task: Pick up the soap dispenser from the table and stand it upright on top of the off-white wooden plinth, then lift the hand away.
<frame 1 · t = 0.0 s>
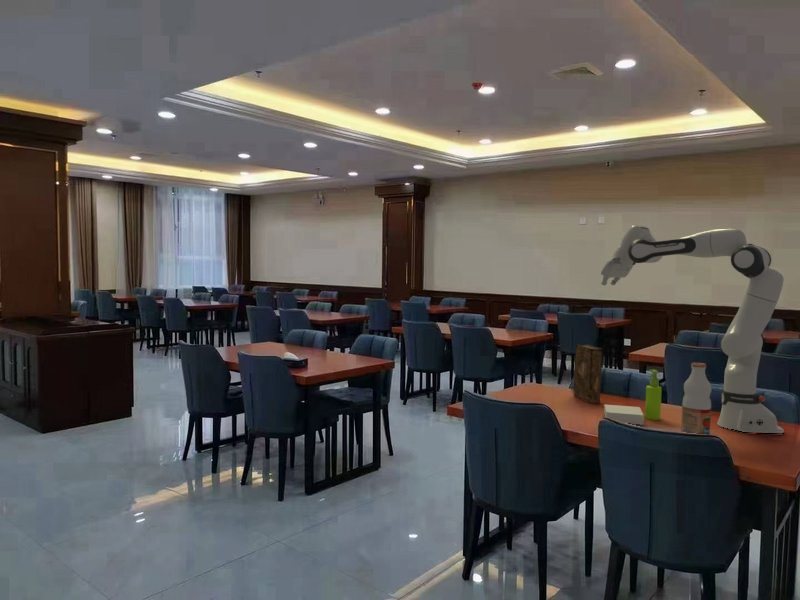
hand: (607, 284, 271), 54 cm above the table, tool tilted 30°, fingers open, 8 cm apart
soap dispenser: (651, 418, 247), on the table
plinth: (622, 419, 244), on the table
book: (587, 399, 279), on the table
fruit juice: (694, 439, 218), on the table
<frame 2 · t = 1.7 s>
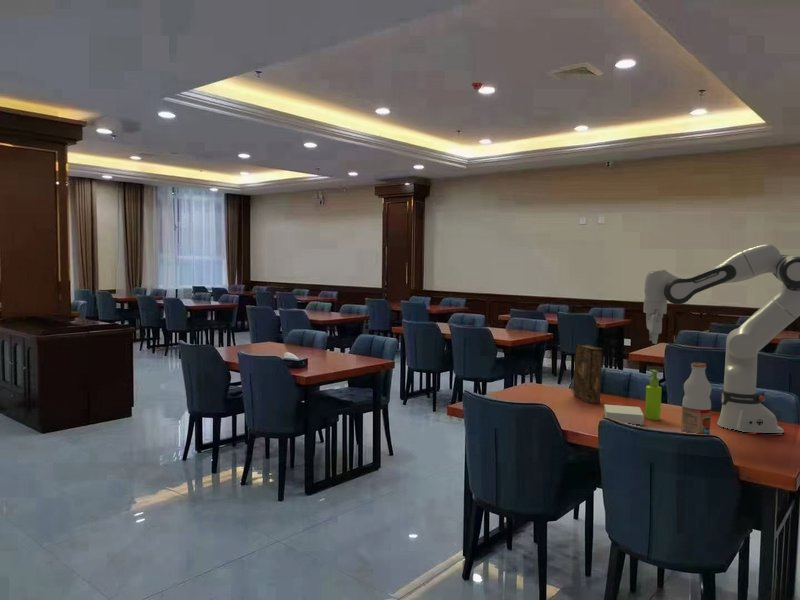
hand: (653, 342, 246), 32 cm above the table, tool pointing down, fingers open, 8 cm apart
nothing on the table moved.
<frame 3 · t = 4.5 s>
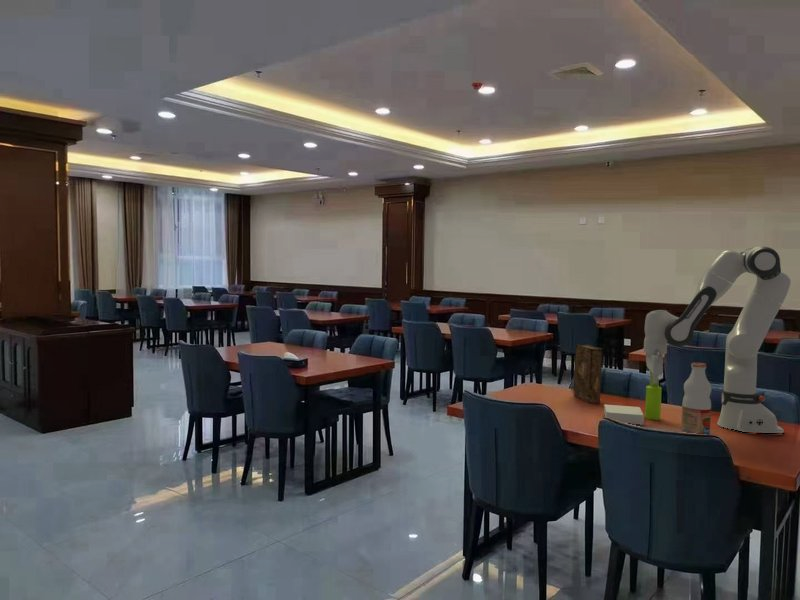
hand: (653, 381, 246), 15 cm above the table, tool pointing down, fingers closed on soap dispenser, 4 cm apart
soap dispenser: (651, 418, 247), on the table, touching gripper
everything else where it was.
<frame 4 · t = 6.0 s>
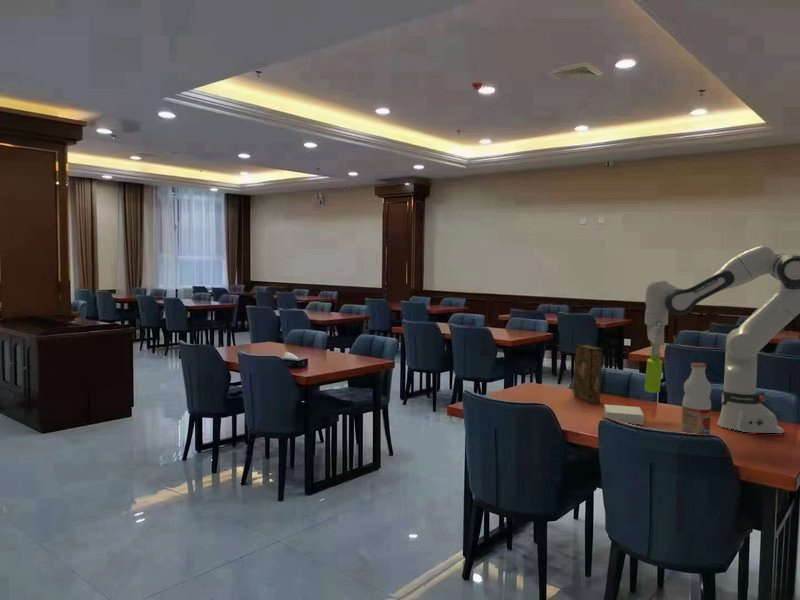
hand: (655, 353, 246), 27 cm above the table, tool pointing down, fingers closed on soap dispenser, 4 cm apart
soap dispenser: (651, 390, 249), point 11 cm above the table, touching gripper
everything else where it was.
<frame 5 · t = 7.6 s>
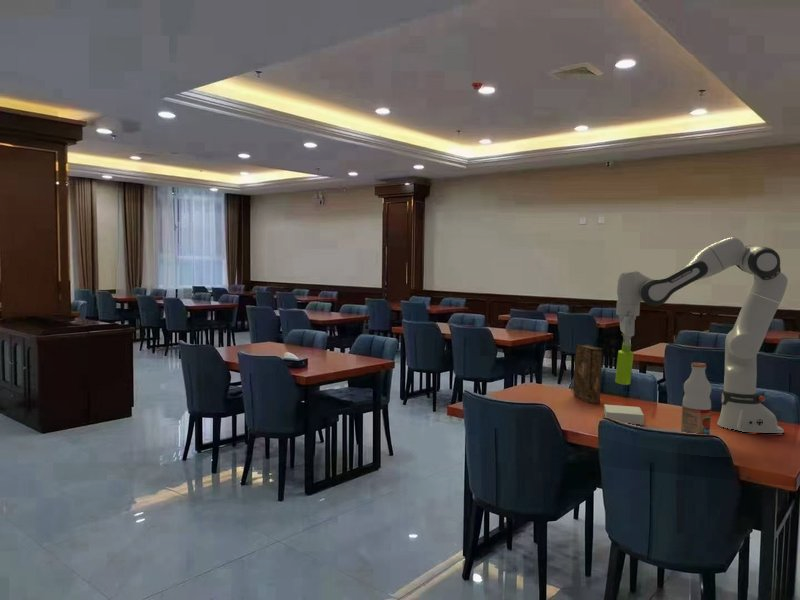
hand: (626, 344, 242), 31 cm above the table, tool pointing down, fingers closed on soap dispenser, 4 cm apart
soap dispenser: (622, 382, 245), point 15 cm above the table, touching gripper
everything else where it was.
when the fingers open (21 cm above the table, at t = 10.1 s): soap dispenser drops 1 cm, resting on plinth.
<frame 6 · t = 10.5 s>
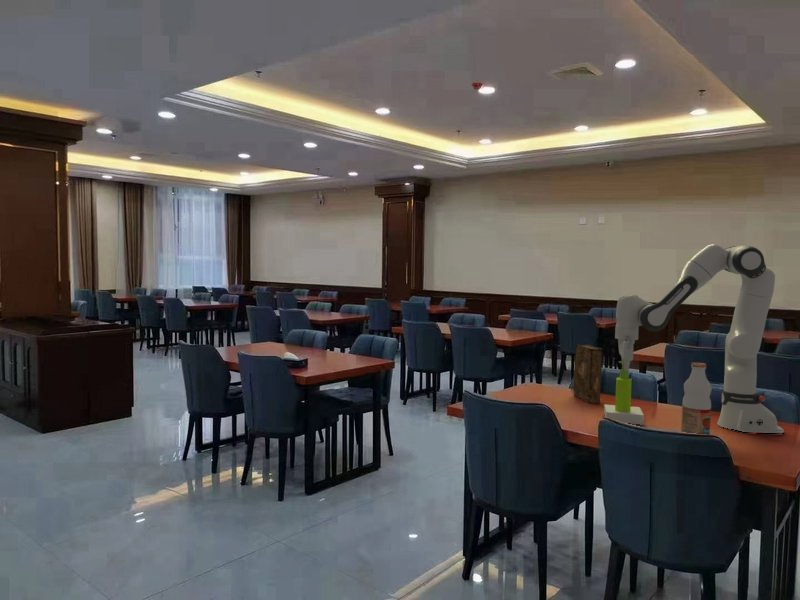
hand: (625, 368, 243), 21 cm above the table, tool pointing down, fingers open, 8 cm apart
soap dispenser: (622, 410, 242), point 4 cm above the table, touching plinth
everything else where it was.
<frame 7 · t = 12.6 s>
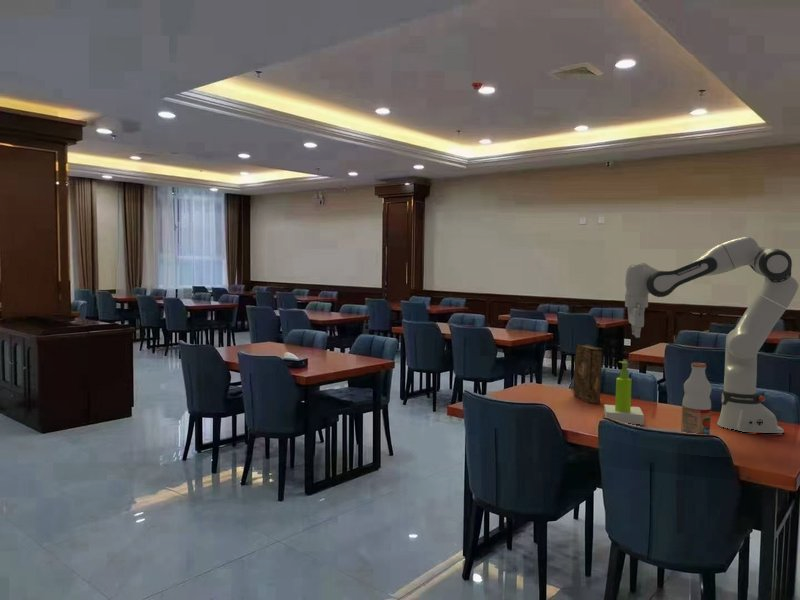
hand: (635, 336, 245), 34 cm above the table, tool pointing down, fingers open, 8 cm apart
nothing on the table moved.
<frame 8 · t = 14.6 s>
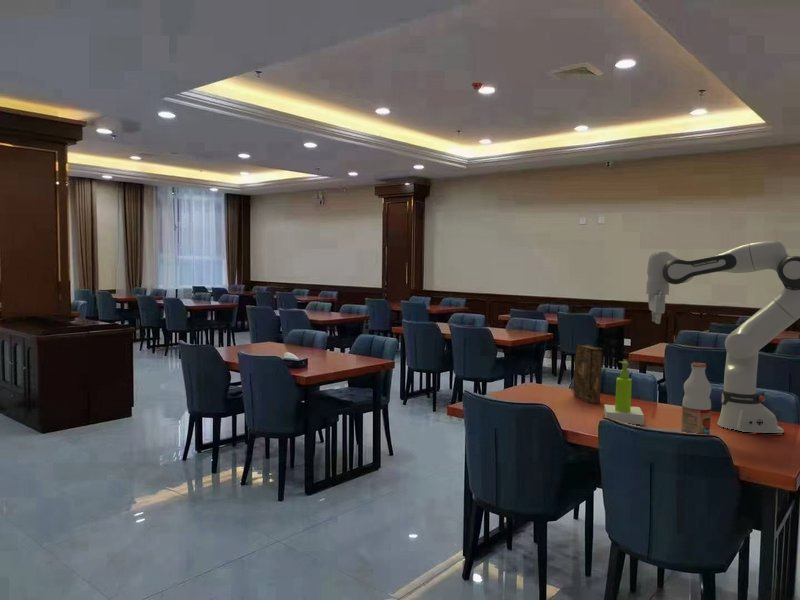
hand: (656, 322, 252), 39 cm above the table, tool pointing down, fingers open, 8 cm apart
nothing on the table moved.
at the end: soap dispenser inside the target area on the plinth (1.5 cm from its centre), point 3.8 cm above the plinth's base; soap dispenser tilted 0°; the gripper is holding nothing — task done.
